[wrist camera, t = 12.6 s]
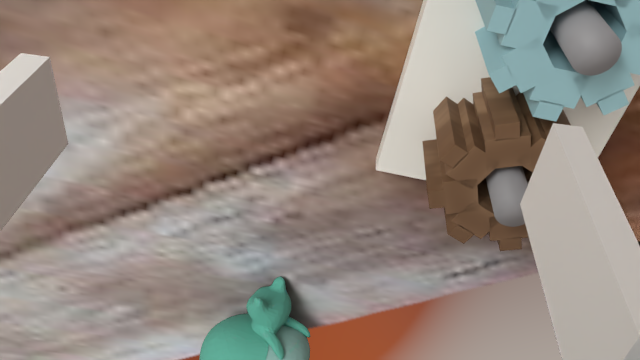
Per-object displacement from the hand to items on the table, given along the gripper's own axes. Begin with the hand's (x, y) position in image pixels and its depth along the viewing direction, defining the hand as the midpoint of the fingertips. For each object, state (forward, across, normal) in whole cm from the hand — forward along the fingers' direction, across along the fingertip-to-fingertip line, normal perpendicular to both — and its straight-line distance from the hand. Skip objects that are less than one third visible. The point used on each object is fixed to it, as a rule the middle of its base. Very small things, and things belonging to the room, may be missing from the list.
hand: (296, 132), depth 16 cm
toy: (+21, -4, -30) cm, 37 cm away
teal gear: (+23, +13, -3) cm, 26 cm away
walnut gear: (+22, +12, -14) cm, 29 cm away
